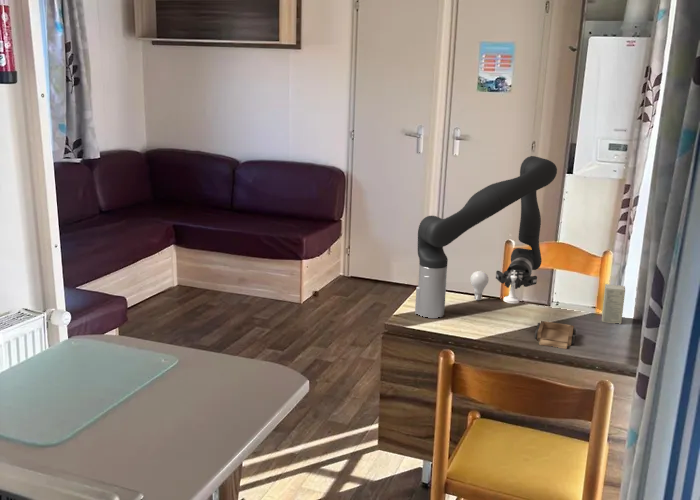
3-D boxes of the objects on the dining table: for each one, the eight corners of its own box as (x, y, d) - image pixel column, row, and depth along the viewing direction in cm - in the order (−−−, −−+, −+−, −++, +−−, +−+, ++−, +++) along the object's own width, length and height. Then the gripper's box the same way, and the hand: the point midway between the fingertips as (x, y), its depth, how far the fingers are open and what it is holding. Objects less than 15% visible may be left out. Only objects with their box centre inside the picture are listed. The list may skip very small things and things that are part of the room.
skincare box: (620, 320, 229) (625, 285, 225) (621, 324, 225) (626, 289, 221) (600, 317, 231) (605, 283, 227) (601, 322, 226) (605, 287, 223)
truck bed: (533, 343, 207) (533, 334, 206) (537, 329, 219) (538, 320, 218) (572, 349, 203) (573, 340, 202) (575, 334, 215) (576, 325, 214)
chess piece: (520, 303, 212) (524, 273, 209) (505, 303, 212) (508, 272, 210) (517, 298, 217) (520, 268, 214) (501, 297, 217) (505, 267, 214)
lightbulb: (488, 303, 242) (490, 273, 239) (470, 303, 242) (472, 273, 239) (485, 297, 248) (487, 268, 245) (467, 297, 248) (469, 268, 245)
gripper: (499, 257, 227) (490, 270, 212) (542, 262, 223) (536, 276, 207) (497, 278, 229) (488, 293, 213) (539, 284, 224) (533, 300, 209)
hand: (512, 285), depth 210 cm, fingers closed on chess piece
